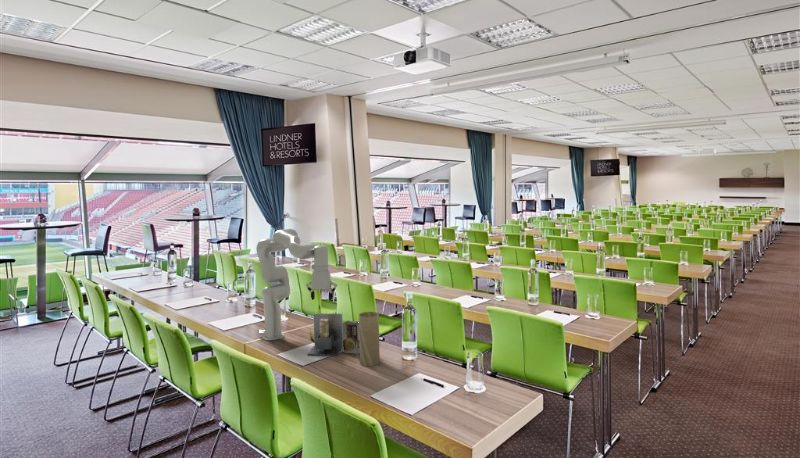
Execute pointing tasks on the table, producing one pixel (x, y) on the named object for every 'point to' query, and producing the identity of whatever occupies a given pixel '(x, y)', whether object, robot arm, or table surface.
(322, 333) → the wooden block
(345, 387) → the table surface
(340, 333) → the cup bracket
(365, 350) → the tube
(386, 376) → the table surface
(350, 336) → the coffee box
